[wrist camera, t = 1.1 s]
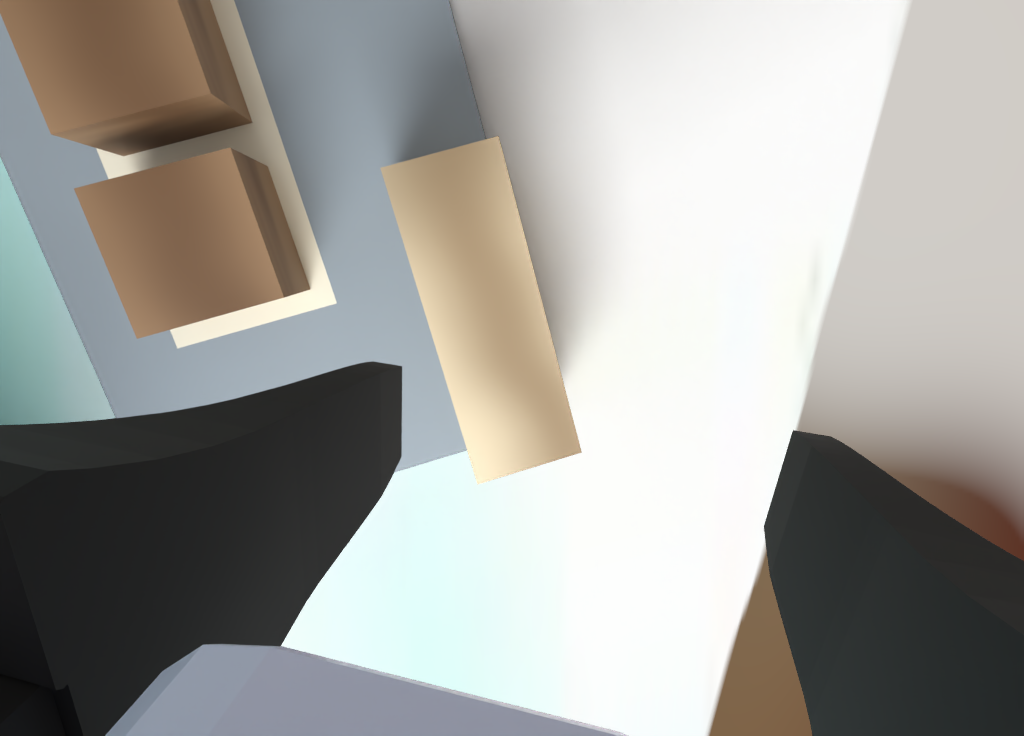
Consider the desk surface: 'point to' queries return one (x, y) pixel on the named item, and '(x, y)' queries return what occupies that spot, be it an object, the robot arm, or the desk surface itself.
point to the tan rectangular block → (483, 306)
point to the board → (304, 199)
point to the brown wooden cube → (193, 240)
